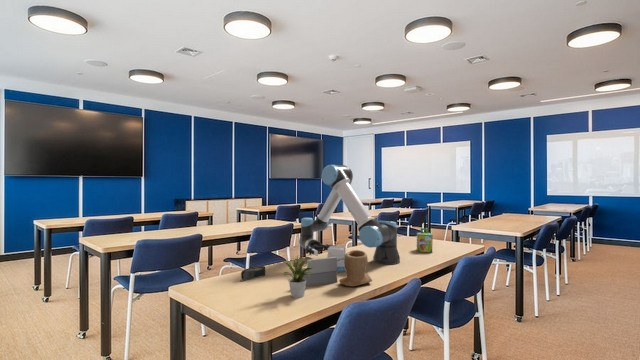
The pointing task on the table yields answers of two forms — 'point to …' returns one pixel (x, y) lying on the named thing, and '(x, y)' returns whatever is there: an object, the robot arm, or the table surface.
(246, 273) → the mobile phone
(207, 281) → the table surface
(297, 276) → the house plant
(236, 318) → the table surface
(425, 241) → the green juice carton
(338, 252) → the ink box
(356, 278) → the stone cup
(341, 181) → the robot arm
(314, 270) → the step
